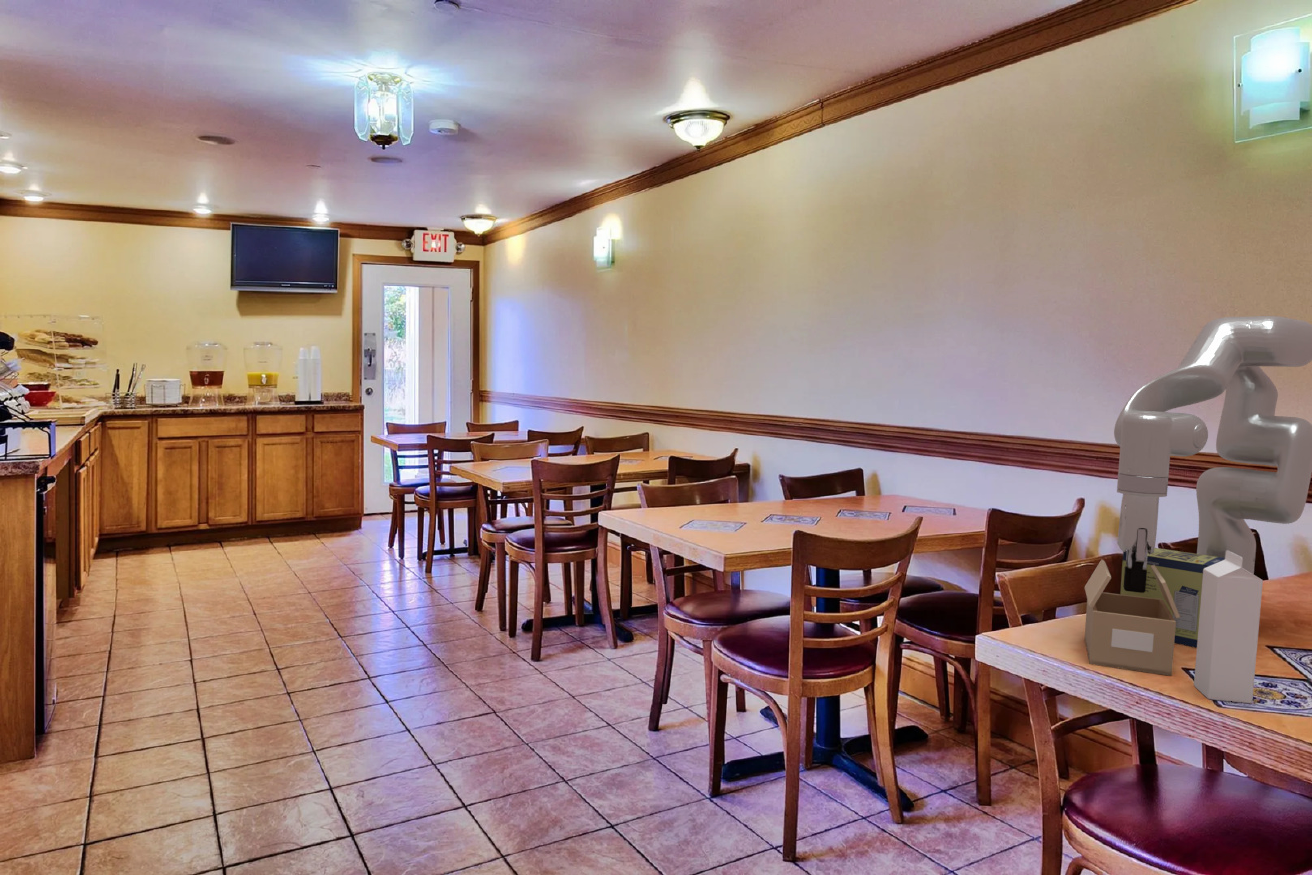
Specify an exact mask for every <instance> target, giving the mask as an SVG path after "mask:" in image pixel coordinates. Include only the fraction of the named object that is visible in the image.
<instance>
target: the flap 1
mask: <svg viewBox="0 0 1312 875" xmlns="http://www.w3.org/2000/svg"><path fill="white" fill-rule="evenodd" d="M1111 579H1112V575H1111V573H1110V571H1109V567H1108V566H1107V563H1106V561H1105V560H1104V559H1101V560H1100V561H1099V563H1098V564H1097V565H1096V568H1095V570H1094V571H1093V572H1092V574H1091V576H1090V578H1088V581H1087V583H1086V584H1085V586H1084V590H1085V594H1086V595H1085V596H1086V599H1088V603H1089V606H1090V607H1092V608H1093V607H1094V605H1095V603H1096V602H1097V600H1098V599H1099V597H1100V595H1101V594H1102V592H1104V590H1105V589H1106V587H1107V585H1108V584H1109V582H1110V581H1111Z"/></svg>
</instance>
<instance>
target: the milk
mask: <svg viewBox="0 0 1312 875" xmlns="http://www.w3.org/2000/svg"><path fill="white" fill-rule="evenodd" d="M1242 561H1243V559H1242V557H1240V556H1238V555H1236V554H1234V553H1232V552H1230V551H1228V550H1226V555H1225V560H1223V561H1220V562H1218V563H1216V564H1213V565H1211V566H1209V567H1206V568H1204V569H1203V580H1202V592H1201V605H1200V617H1199V629H1198V641H1197V648H1196V654H1195V655H1196V657H1195V668H1194V678H1193V679H1194V680H1193V686H1194V688H1196V689H1197V690H1198V691H1199V692H1200V693H1201V694H1202V695H1203V696H1204V697H1205V698H1207V699H1208V700H1213V701H1214V700H1215V701H1222V702H1225V701H1226V702H1231V701H1232V703H1241V702H1242V703H1243V704H1253V697H1254V685H1255V676H1256V666H1257V665H1256V664H1257V663H1256V662H1257V661H1256V660H1257V652H1258V641H1259V640H1258V639H1259V631H1260V630H1259V629H1260V628H1259V627H1260V618H1261V604H1262V597H1263V596H1262V594H1263V583H1264V580H1263V579H1261V578H1260V577H1258V576H1257V575H1255V574H1254V575H1253V574H1252V573H1250V572H1248V571H1247V570H1245V569H1244V568H1242ZM1242 703H1241V704H1242Z"/></svg>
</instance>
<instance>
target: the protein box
mask: <svg viewBox="0 0 1312 875" xmlns="http://www.w3.org/2000/svg"><path fill="white" fill-rule="evenodd" d="M1126 557H1127V550H1126V552H1123V551H1122V566H1121V579H1120V580H1121V581H1120V593H1119V594H1121V595H1130V596H1138V597H1147V598H1155V599H1163V601H1164V603H1165V604H1166V606H1167V608H1168V609H1169V611H1170V613H1171V614H1172V616H1173V618H1174V619H1175V621H1176V628H1175V640H1174V644H1178V645H1181V646H1186V647H1190V646H1191V648H1196V649H1197V641H1198V629H1199V617H1200V605H1201V592H1202V580H1203V569H1204V568H1206V567H1209V566H1211V565H1213V564H1216V563H1218V562H1220V561H1223V560H1225V558H1221V557H1214V556H1207V555H1200V554H1197V553H1193V552H1186V551H1185V552H1184V551H1180V550H1179V551H1178V550H1171V549H1165V548H1159V547H1155V549H1154V553H1152V554H1150V555H1149V554H1148V556H1147V566H1146V570H1147V577H1146V589H1145V592H1144V593H1139V592H1130V591H1125V590H1124V587H1123V585H1124V572H1125V566H1126ZM1152 565H1155V567H1156V568H1157V570H1158V571H1159V573H1160V574H1161V576H1162V577H1163V579H1164V580H1165V582H1166V584H1167V586H1168V589H1169V591H1170V594H1171V596H1172V598H1173V601H1174V603H1175V606H1176V608H1177V610H1178V613H1179V615H1180V617H1179V618H1176V617H1175V615H1174V614H1173V612H1172V610H1171V609H1170V607H1169V605H1168V604H1167V602H1166V600H1165V599H1164V597H1163V594H1162V592H1161V590H1160V587H1159V585H1158V582H1157V580H1156V578H1155V575H1154V573H1153V570H1152V568H1151V566H1152ZM1127 567H1128V566H1127Z"/></svg>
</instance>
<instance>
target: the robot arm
mask: <svg viewBox="0 0 1312 875" xmlns="http://www.w3.org/2000/svg"><path fill="white" fill-rule="evenodd" d="M1311 362H1312V324H1311V323H1310V322H1309V321H1306V320H1302V319H1293V318H1288V317H1283V316H1277V315H1276V316H1275V315H1274V316H1273V315H1259V316H1255V315H1254V316H1226V317H1225V316H1224V317H1219V318H1215V319H1212V320H1211V321H1209V322H1207V323H1206V324H1205V325H1204V326H1203V327H1202V329H1200V332H1199V333H1198V335H1197V336H1196V338H1195V339H1194V341H1193V342H1192V344H1191V346H1190V348H1189V349H1188V351H1187V353H1186V355H1184V358H1183V359H1182V360H1181V362H1180V363H1179V365H1178V367H1176V368H1175V369H1173V370H1170V371H1168V372H1166V373H1164V374H1162V375H1159V376H1158V377H1156V378H1155V379H1153V380H1151V381H1149V382H1147V383H1146V384H1144V385H1143V386H1141V387H1139V388H1138V389H1137V390H1135V392H1134V393H1133V394H1131V396H1130V397H1129V398H1128V400H1127V402H1126V403H1125V405H1124V406H1123V408H1122V409H1121V411H1120V413H1119V415H1118V417H1117V419H1116V421H1115V425H1114V428H1113V434H1114V439H1115V440H1114V441H1115V442H1116V445H1118V446H1119V458H1118V459H1119V461H1118V462H1119V463H1118V472H1117V486H1116V493H1118V494H1122V498H1121V503H1120V504H1121V505H1120V513H1119V514H1120V515H1119V524H1118V525H1119V526H1118V531H1117V540H1116V541H1117V546H1118V547H1119V549H1120V551H1122V553H1123V552H1126V551H1127V557H1126V566H1125V572H1124V585H1123V587H1124V590H1125V591H1130V592H1139V593H1144V592H1145V589H1146V577H1147V570H1146V566H1147V556H1148V554H1149V555H1150V554H1152V553H1154V549H1155V548H1156V540H1157V530H1158V518H1159V505H1160V504H1159V503H1160V502H1159V501H1160V498H1166V497H1167V496H1168V489H1169V488H1168V486H1169V476H1170V475H1169V474H1170V460H1171V456H1172V457H1191V456H1194V455H1196V454H1198V453H1199V452H1201V451H1202V450H1203V449H1204V448H1205V446H1206V444H1207V442H1208V438H1209V430H1208V427H1207V425H1206V423H1205V421H1204V420H1202V419H1201V418H1200V417H1198V416H1196V415H1194V414H1190V413H1185V412H1184V413H1183V412H1171V411H1170V410H1173V409H1174V410H1175V409H1177V408H1180V407H1181V408H1182V407H1186V406H1187V407H1188V406H1191V405H1195V404H1199V403H1202V402H1206V401H1208V400H1212V399H1215V398H1217V397H1219V396H1221V395H1222V394H1223V393H1224V392H1225V394H1224V400H1223V401H1224V402H1223V407H1222V410H1221V416H1220V419H1219V425H1218V429H1217V435H1216V439H1215V440H1216V441H1215V443H1216V444H1215V448H1216V452H1217V454H1218V456H1220V458H1223V459H1224V460H1227V461H1230V462H1234V463H1242V464H1250V465H1262V466H1271V467H1277V471H1266V470H1258V469H1257V470H1256V469H1250V468H1241V467H1240V468H1239V467H1228V466H1219V467H1212V468H1208V469H1207V470H1205V471H1203V472H1202V473H1201V474H1200V476H1199V477H1198V479H1197V482H1196V490H1195V491H1196V494H1195V495H1196V500H1197V510H1198V535H1197V536H1198V538H1197V549H1196V554H1200V555H1207V556H1214V557H1221V558H1225V555H1226V550H1228V551H1230V552H1232V553H1234V554H1236V555H1238V556H1240V557H1242V559H1243V561H1242V568H1244V569H1245V570H1247V571H1248V572H1250V573H1252V574H1253V575H1255V574H1254V573H1255V563H1256V562H1255V561H1256V552H1257V542H1256V537H1255V535H1254V533H1253V531H1252V530H1251V528H1250V527H1249V525H1248V524H1247V522H1246V521H1245V520H1252V521H1258V522H1264V523H1265V522H1266V523H1274V524H1282V525H1287V524H1288V525H1289V524H1293V523H1295V522H1296V521H1298V520H1299V519H1300V518H1301V516H1302V514H1303V512H1304V510H1305V507H1306V503H1307V498H1308V492H1309V488H1310V485H1311V484H1310V483H1311V478H1312V423H1311V422H1310V421H1308V420H1306V419H1304V418H1300V417H1297V416H1296V417H1295V416H1282V415H1275V414H1276V413H1275V412H1276V408H1277V403H1278V396H1279V392H1278V389H1277V387H1276V386H1275V383H1274V382H1273V381H1272V379H1271V378H1270V376H1268V375H1267V373H1266V372H1265V371H1264V370H1263V369H1262V368H1261V367H1275V368H1276V367H1278V368H1279V367H1282V368H1283V367H1287V368H1291V367H1292V368H1294V367H1295V368H1299V367H1304V366H1307V365H1308V364H1310V363H1311ZM1127 566H1128V567H1127Z"/></svg>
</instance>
